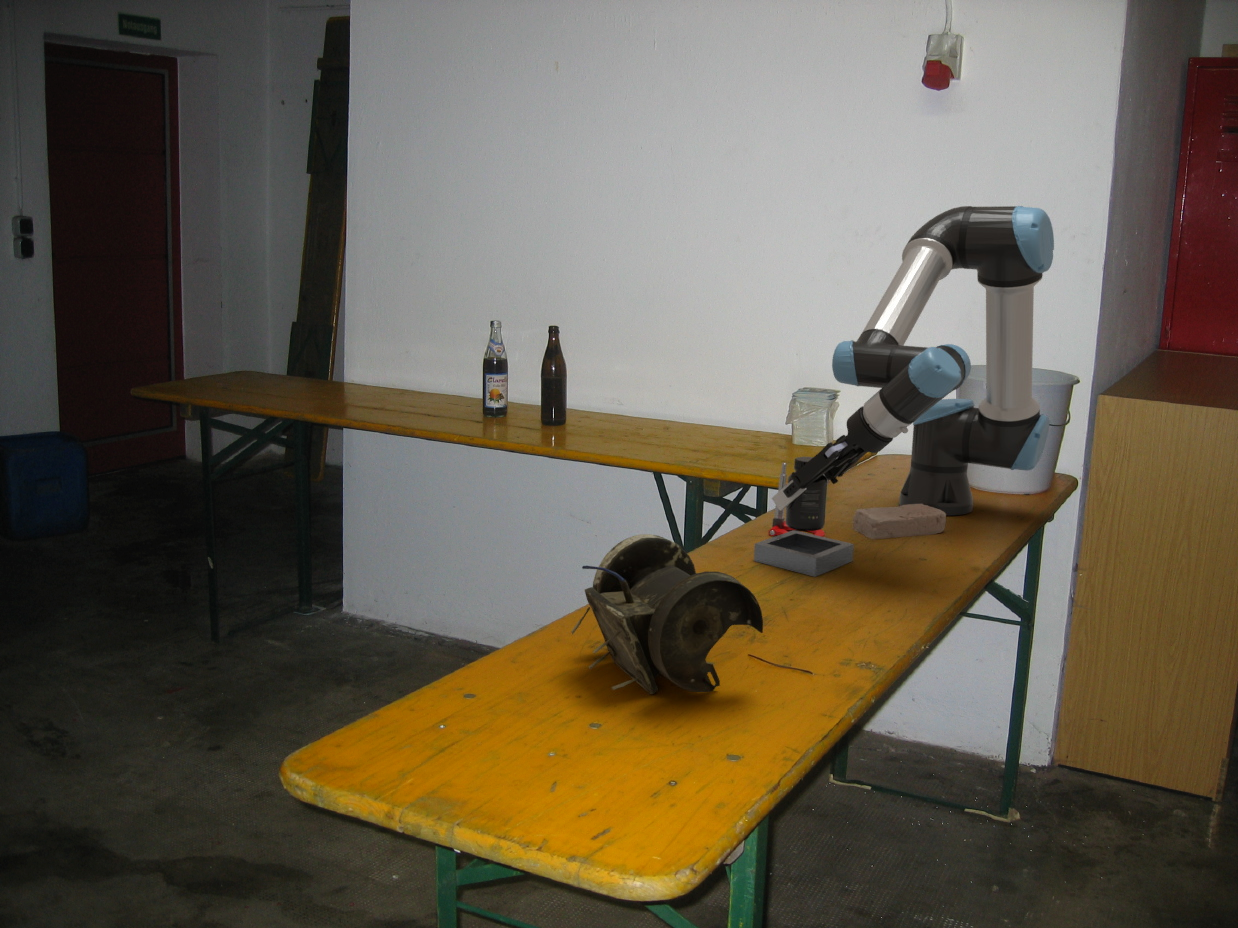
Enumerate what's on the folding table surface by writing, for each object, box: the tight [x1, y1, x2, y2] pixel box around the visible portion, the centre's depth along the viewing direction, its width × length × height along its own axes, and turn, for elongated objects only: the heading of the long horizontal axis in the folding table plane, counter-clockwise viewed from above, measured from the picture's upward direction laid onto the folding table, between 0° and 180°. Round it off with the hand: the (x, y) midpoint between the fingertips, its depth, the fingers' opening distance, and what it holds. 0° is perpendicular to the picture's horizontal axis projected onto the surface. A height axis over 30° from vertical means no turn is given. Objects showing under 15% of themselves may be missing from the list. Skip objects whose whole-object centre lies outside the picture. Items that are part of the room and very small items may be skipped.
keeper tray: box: [753, 530, 855, 577], centre depth 192 cm, size 12×12×3 cm
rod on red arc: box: [768, 462, 826, 538], centre depth 207 cm, size 9×14×10 cm
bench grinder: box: [570, 533, 764, 695], centre depth 140 cm, size 20×22×20 cm
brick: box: [852, 504, 947, 540], centre depth 213 cm, size 17×8×5 cm, turn 109°
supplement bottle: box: [784, 456, 828, 532], centre depth 189 cm, size 7×7×12 cm
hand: (788, 500), depth 192 cm, fingers closed on supplement bottle, 7 cm apart
